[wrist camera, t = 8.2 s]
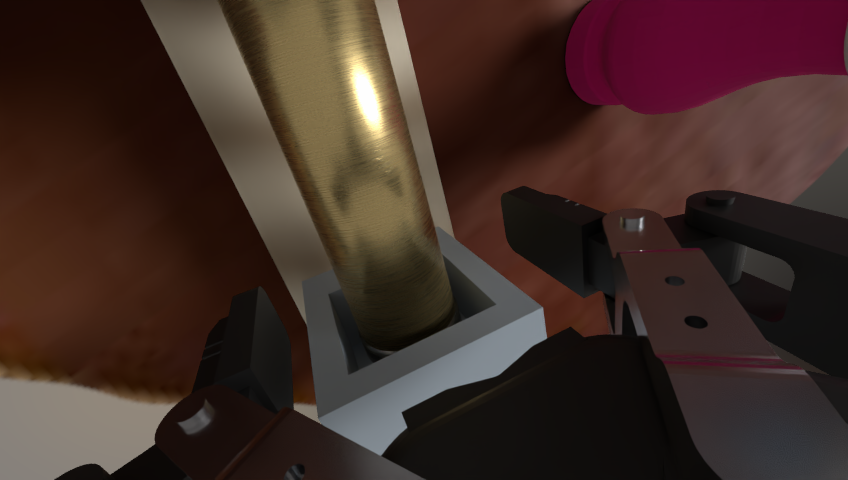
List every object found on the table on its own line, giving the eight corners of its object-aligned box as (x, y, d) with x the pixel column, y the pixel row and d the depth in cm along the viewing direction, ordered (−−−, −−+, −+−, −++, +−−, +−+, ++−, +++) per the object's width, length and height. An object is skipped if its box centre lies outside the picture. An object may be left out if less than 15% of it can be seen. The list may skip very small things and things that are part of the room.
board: (43, -204, 12) (23, -229, 11) (333, -228, 14) (336, -250, 13) (316, 338, 22) (318, 348, 21) (458, 275, 24) (465, 282, 24)
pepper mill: (556, 121, 23) (1424, 180, 6) (556, -11, 20) (2395, -769, 3) (641, 102, 25) (1484, 101, 8) (653, -21, 22) (2079, -496, 5)
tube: (150, -156, 10) (64, -325, 6) (306, -174, 11) (322, -328, 7) (357, 325, 18) (378, 389, 14) (438, 288, 19) (480, 338, 15)
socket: (301, 281, 20) (318, 418, 11) (438, 226, 21) (542, 307, 13) (331, 342, 21) (364, 498, 13) (454, 287, 23) (553, 391, 15)
